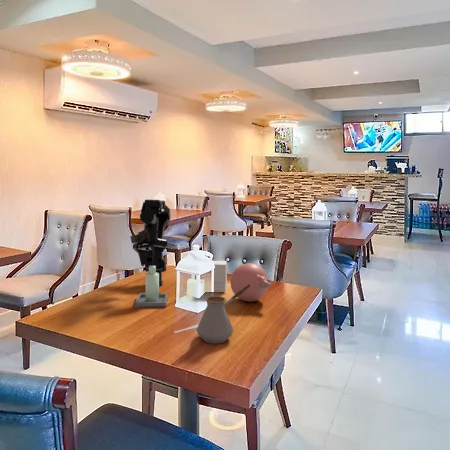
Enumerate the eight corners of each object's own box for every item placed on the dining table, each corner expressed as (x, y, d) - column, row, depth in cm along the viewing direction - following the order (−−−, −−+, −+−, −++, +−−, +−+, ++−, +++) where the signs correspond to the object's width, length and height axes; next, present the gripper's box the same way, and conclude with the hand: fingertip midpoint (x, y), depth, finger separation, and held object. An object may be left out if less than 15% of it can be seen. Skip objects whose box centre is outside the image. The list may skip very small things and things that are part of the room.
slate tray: (139, 297, 168) (139, 293, 167) (167, 297, 168) (167, 293, 168) (135, 307, 156) (135, 302, 156) (165, 307, 157) (165, 302, 157)
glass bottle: (143, 299, 163) (143, 265, 161) (155, 298, 166) (156, 264, 164) (148, 303, 159) (148, 268, 157) (160, 301, 162) (161, 267, 160)
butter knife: (205, 326, 139) (200, 323, 141) (141, 344, 124) (136, 340, 126) (205, 327, 139) (200, 324, 141) (141, 345, 124) (136, 342, 126)
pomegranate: (252, 313, 153) (253, 272, 151) (222, 298, 169) (223, 261, 167) (283, 306, 161) (285, 268, 159) (252, 292, 178) (253, 258, 176)
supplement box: (226, 288, 184) (227, 260, 182) (225, 293, 176) (226, 264, 174) (210, 287, 184) (211, 260, 182) (208, 292, 177) (208, 263, 175)
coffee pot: (212, 349, 122) (213, 300, 119) (189, 337, 130) (189, 291, 128) (262, 331, 136) (263, 287, 134) (238, 321, 144) (239, 280, 142)
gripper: (123, 228, 175) (119, 264, 172) (145, 222, 162) (142, 261, 158) (145, 232, 182) (143, 267, 179) (169, 226, 169) (167, 264, 166)
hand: (148, 265), depth 170 cm, fingers open, 9 cm apart
